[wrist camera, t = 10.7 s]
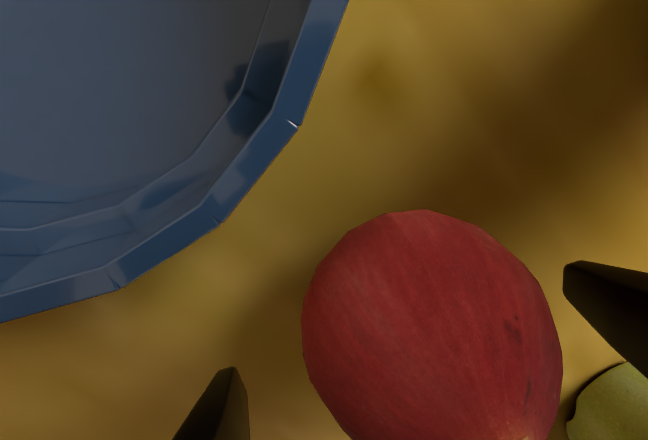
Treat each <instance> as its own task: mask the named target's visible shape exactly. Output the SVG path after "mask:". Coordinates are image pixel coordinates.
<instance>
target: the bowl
mask: <svg viewBox="0 0 648 440" xmlns="http://www.w3.org/2000/svg"><path fill="white" fill-rule="evenodd" d="M348 2H349V0H0V323H4V322H7V321H11V320H14V319H18V318H21V317H25V316H29V315H32V314H36V313H39V312H43V311H46V310H50V309H53V308H57V307H61V306H64V305H68V304H71V303H75V302H78V301H82V300H85V299H89V298H93V297H96V296H100V295H103V294H107V293H110V292H114V291H117V290H119V289H120V288H123V287H126V286H127V285H129V284H130V283H132V282H133V281H135V280H136V279H138V278H140V277H141V276H143V275H144V274H146V273H147V272H149V271H151V270H152V269H154V268H155V267H157V266H158V265H160V264H161V263H163V262H165V261H166V260H168V259H169V258H171V257H172V256H174V255H175V254H177V253H179V252H180V251H182V250H183V249H185V248H186V247H188V246H190V245H191V244H193V243H194V242H196V241H197V240H199V239H200V238H202V237H204V236H205V235H207V234H208V233H210V232H211V231H213V230H215V229H216V228H218V227H219V226H220V224H221V223H223V222H225V220H226V219H227V218H228V217H229V215H230V214H231V213H232V212H233V210H234V209H235V208H236V207H237V205H238V204H239V203H240V202H241V201H242V199H243V198H244V197H245V196H246V194H247V193H248V192H249V191H250V189H251V188H252V187H253V186H254V184H255V183H256V182H257V181H258V179H259V178H260V177H261V176H262V174H263V173H264V172H265V171H266V169H267V168H268V167H269V166H270V164H271V163H272V162H273V161H274V159H275V158H276V157H277V156H278V154H279V153H280V152H281V151H282V150H283V148H284V147H285V146H286V145H287V143H288V142H289V141H290V140H291V138H292V137H293V136H294V135H295V133H296V132H297V131H298V128H299V127H298V126H301V125H302V122H303V120H304V117H305V114H306V112H307V109H308V107H309V104H310V101H311V99H312V96H313V93H314V91H315V88H316V86H317V83H318V80H319V78H320V75H321V73H322V70H323V67H324V65H325V62H326V60H327V57H328V54H329V52H330V49H331V46H332V44H333V41H334V39H335V36H336V33H337V31H338V28H339V26H340V23H341V20H342V18H343V15H344V13H345V10H346V7H347V5H348Z"/></svg>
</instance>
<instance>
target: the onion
mask: <svg viewBox="0 0 648 440" xmlns="http://www.w3.org/2000/svg"><path fill="white" fill-rule="evenodd" d="M301 329H302V346H303V357H304V361H305V365H306V368H307V372H308V376H309V379H310V381H311V383H312V384H313V386H314V388H315V389H316V391H317V393H318V394H319V396H320V397H321V399H322V401H323V402H324V404H325V405H326V406H327V408H328V409H329V411H330V412H331V414H332V415H333V417H334V418H335V420H336V421H337V423H338V424H339V425H340V427H341V428H342V430H343V431H344V432H345V433H346V434H347V435H348V436H349V437H350V438H351V439H352V440H547V437H548V435H549V433H550V430H551V428H552V426H553V424H554V421H555V419H556V416H557V411H558V406H559V400H560V393H561V385H562V377H563V363H562V351H561V346H560V342H559V338H558V334H557V330H556V327H555V324H554V321H553V318H552V315H551V311H550V308H549V305H548V302H547V300H546V298H545V296H544V293H543V291H542V289H541V286H540V284H539V282H538V281H537V280H536V278H535V277H534V276H533V275H532V273H531V272H530V271H529V270H528V268H527V267H526V266H525V265H524V264H523V263H522V262H521V261H520V260H519V259H518V258H516V257H515V256H514V255H513V254H512V253H511V252H509V251H508V250H507V249H506V248H505V247H504V246H502V245H501V244H500V243H499V242H498V241H497V240H495V239H494V238H493V237H492V236H491V235H489V234H488V233H487V232H486V231H485V230H483V229H482V228H481V227H480V226H477V225H474V224H471V223H469V222H466V221H463V220H460V219H457V218H454V217H450V216H447V215H444V214H440V213H437V212H434V211H430V210H427V209H420V210H411V211H402V212H393V213H384V214H382V215H380V216H378V217H376V218H374V219H372V220H370V221H368V222H366V223H364V224H362V225H360V226H357V227H355V228H353V229H351V230H349V231H348V232H347V233H346V234H345V235H344V236H343V237H342V239H341V240H340V241H339V242H338V243H337V244H336V245H335V246H334V248H333V249H332V250H331V251H330V252H329V253H328V254H327V255H326V257H325V258H324V259H323V260H322V261H321V262H320V263H319V264H318V265H317V268H316V270H315V273H314V275H313V277H312V280H311V282H310V284H309V287H308V289H307V292H306V294H305V296H304V300H303V308H302V316H301Z"/></svg>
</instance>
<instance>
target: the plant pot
mask: <svg viewBox="0 0 648 440" xmlns="http://www.w3.org/2000/svg"><path fill="white" fill-rule="evenodd" d="M566 429H567V435H568V437H569V440H648V379H647V378H646V377H645V376H643V375H642V374H641V373H640V372H639V371H638V370H637V369H636V368H635V367H633V366H632V365H631V364H630V363H629V362H626V363H623V364H621V365H618V366H616V367H614V368H611V369H610V370H609V371H607V372H605V373H604V374H602V375H601V376H599V377H598V378H597V379H595V380H594V381H593V382H592V383H590V384H589V385H588V386H587V387H586V388H585V389H584V390H583V391H582V392H581V394H580V395H579V396H578V398H577V401H576V413H575V415H574V418H573V419H572V420H571V421H568V422H567V424H566Z"/></svg>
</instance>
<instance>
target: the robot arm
mask: <svg viewBox="0 0 648 440" xmlns="http://www.w3.org/2000/svg"><path fill="white" fill-rule="evenodd" d="M562 289H563V294H564V296H565V297H566V299H567V300H568V301H569V302H570V303H571V304H572V305H573V306H574V307H575V309H576V310H577V311H578V312H579V313H580V314H581V315H582V316H583V317H584V318H585V319H586V320H587V321H588V322H589V323H590V325H591V326H592V327H593V328H594V329H595V330H596V331H597V332H598V333H599V334H600V335H601V336H602V337H603V338H604V339H605V340H606V341H607V342H608V344H609V345H610V346H612V347H613V348H614V349H615V350H616V351H617V352H618V353H619V354H620V355H621V356H622V357H623V358H625V359H626V360H627V361H628V362H629V363H630V364H631V365H632V366H633V367H635V368H636V369H637V370H638V371H639V372H640V373H641V374H642V375H643V376H645V377H646V378H647V379H648V273H646V272H641V271H635V270H630V269H625V268H620V267H614V266H609V265H604V264H599V263H594V262H588V261H583V260H580V261H576V262H572V263H569V264H567V265H565V267H564V269H563V288H562ZM172 440H250V428H249V412H248V397H247V392H246V389H245V386H244V384H243V382H242V379H241V377H240V375H239V373H238V370H237V369H236V367H234V366H231V367H228V368H225V369H221V370H219V371H218V372H217V373H216V375H215V376H214V377H213V379H212V380H211V382H210V383H209V385H208V386H207V388H206V389H205V391H204V392H203V394H202V395H201V397H200V398H199V400H198V401H197V403H196V404H195V406H194V407H193V409H192V410H191V412H190V413H189V415H188V416H187V418H186V419H185V421H184V422H183V424H182V425H181V427H180V428H179V430H178V431H177V433H176V434H175V436H174V437H173V439H172Z"/></svg>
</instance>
